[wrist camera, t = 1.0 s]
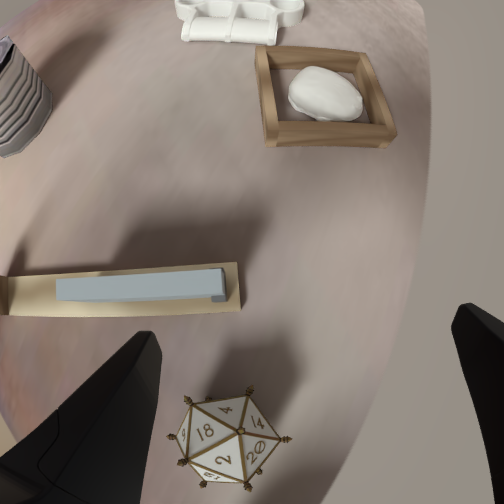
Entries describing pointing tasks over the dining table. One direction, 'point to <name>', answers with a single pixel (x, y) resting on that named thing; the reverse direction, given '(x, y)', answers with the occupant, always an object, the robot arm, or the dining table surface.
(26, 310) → the rail
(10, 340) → the dining table surface
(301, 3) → the white brass knuckles
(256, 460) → the game die
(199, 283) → the panel
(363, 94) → the garlic tray
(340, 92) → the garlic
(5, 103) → the can
